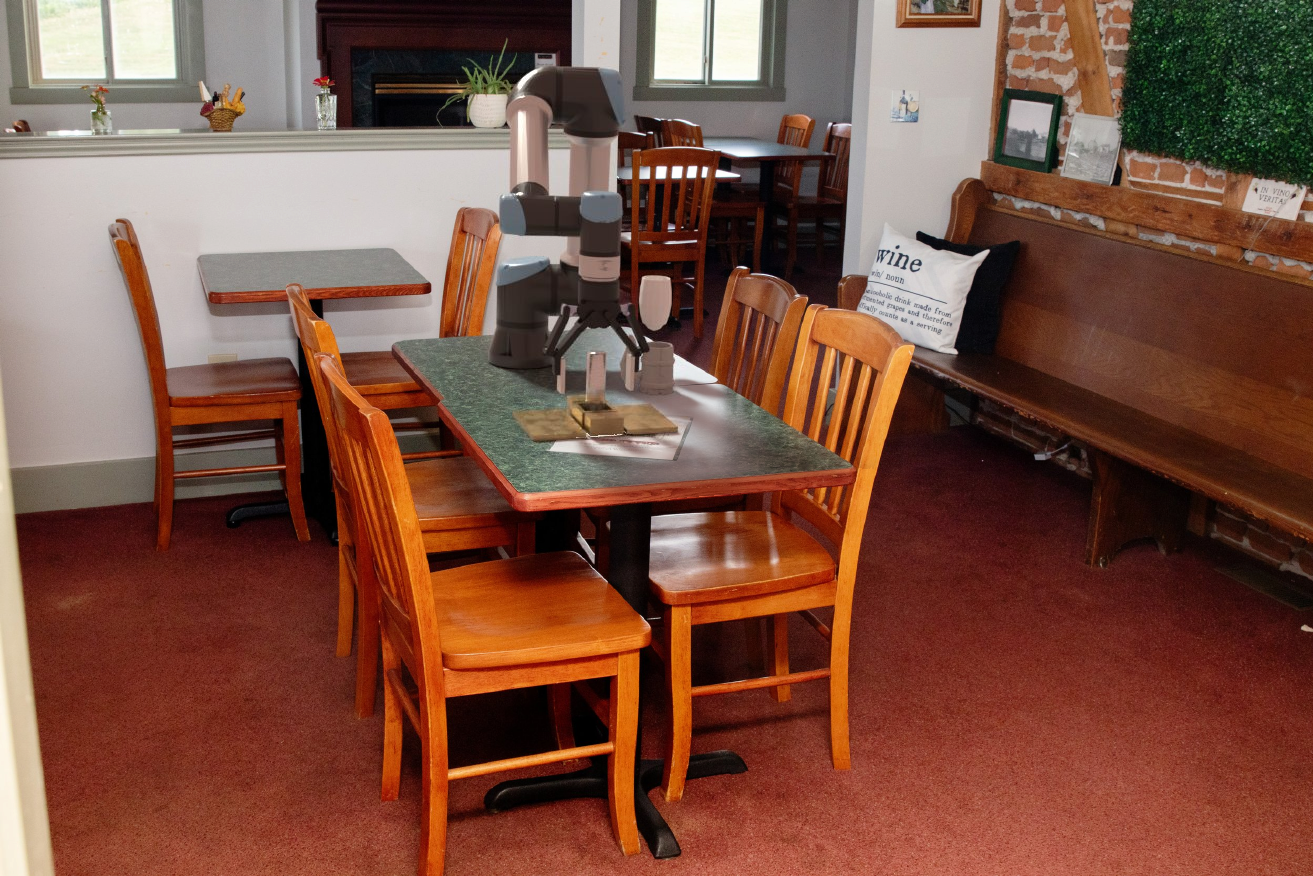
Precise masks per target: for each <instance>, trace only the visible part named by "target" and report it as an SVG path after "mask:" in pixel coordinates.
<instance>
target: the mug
mask: <svg viewBox="0 0 1313 876" xmlns="http://www.w3.org/2000/svg"><path fill="white" fill-rule="evenodd" d="M628 336H629V338H630V339H631V340H632V342H633V343H634V344H635V345H636V347H637V346H638V345H637V344H638V343H637V340H636V338H635V336H634V334H629V335H628ZM647 343H648V346H649V348H650V351H649V352H647V353H646V352H645V353H643V354H642V356H641V357H640V363H641V367H640V369H639V371H638V372H634V381H636V380H638V382H637V383H638V386H639V391H640V392H642V393H644V394H647V395H657V396H659V395H663V396H664V395H669V394H672V393H673V392H674V387H675V385H676V380H675V378H674V364H675V362H676V359H675V357H674V354H675V353H674V348H675V347H674V345H673V344H672V343H670V342H665V341H647ZM623 352H624V353H623V355H622V357H621V359H620V362H619V366H620V376H621V380H622V381H624V382H623V383H624V385H625V384H626V358H627V354H631V351H630V350H629V349H628V348H627V346H626V347H625V350H624V351H623Z"/></svg>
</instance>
